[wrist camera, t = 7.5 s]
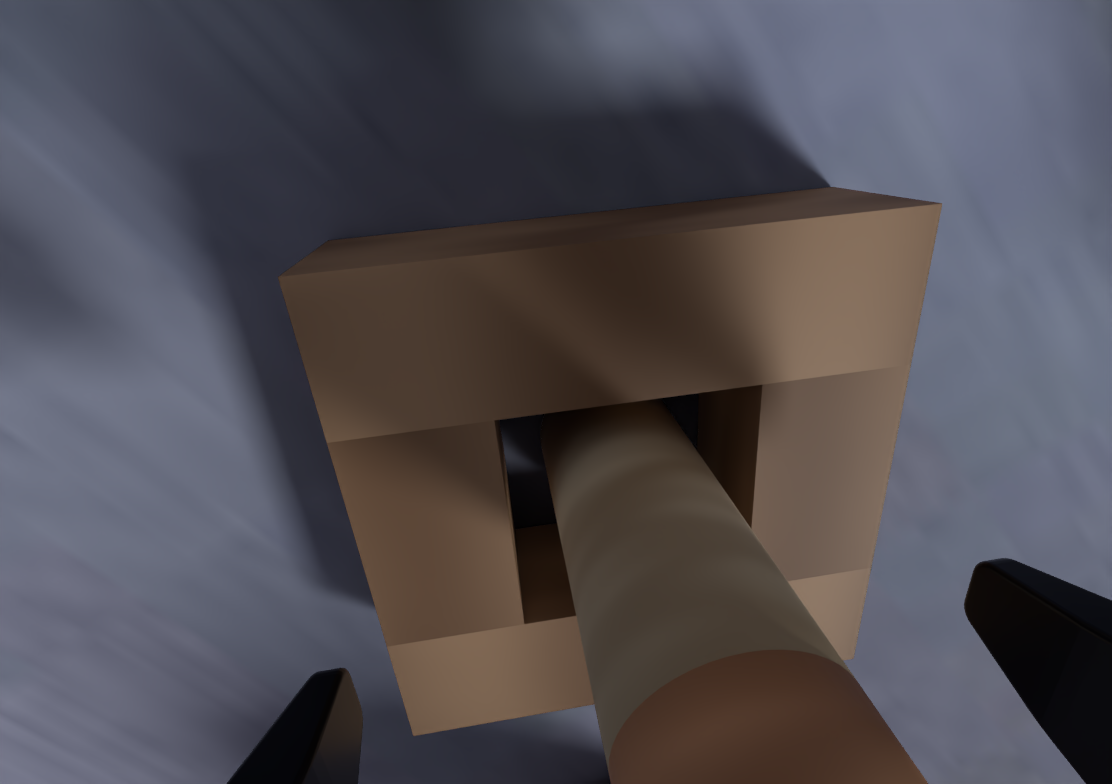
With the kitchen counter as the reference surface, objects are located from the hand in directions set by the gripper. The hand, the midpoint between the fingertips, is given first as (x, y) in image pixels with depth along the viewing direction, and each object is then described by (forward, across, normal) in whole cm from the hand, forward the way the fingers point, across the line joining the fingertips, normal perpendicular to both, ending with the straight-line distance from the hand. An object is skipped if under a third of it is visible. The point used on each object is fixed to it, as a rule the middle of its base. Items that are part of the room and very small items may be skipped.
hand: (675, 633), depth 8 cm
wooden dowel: (+6, 0, 0) cm, 6 cm away
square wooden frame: (+6, 0, 0) cm, 6 cm away
